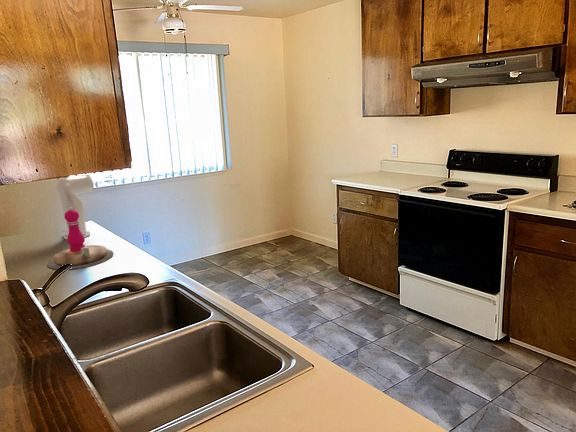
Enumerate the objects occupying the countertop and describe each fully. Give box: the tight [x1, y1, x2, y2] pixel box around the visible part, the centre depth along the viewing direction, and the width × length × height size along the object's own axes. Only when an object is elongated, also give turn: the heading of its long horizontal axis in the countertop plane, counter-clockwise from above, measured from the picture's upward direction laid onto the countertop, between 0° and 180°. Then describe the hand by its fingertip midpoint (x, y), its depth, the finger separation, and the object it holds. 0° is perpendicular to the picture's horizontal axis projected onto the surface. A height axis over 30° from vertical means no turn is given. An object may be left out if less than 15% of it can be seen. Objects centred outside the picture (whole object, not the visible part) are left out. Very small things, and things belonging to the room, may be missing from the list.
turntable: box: [52, 244, 108, 266], centre depth 205 cm, size 22×22×6 cm
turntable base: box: [47, 248, 114, 270], centre depth 206 cm, size 27×27×1 cm
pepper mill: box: [63, 207, 86, 252], centre depth 207 cm, size 7×7×20 cm
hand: (86, 171), depth 220 cm, fingers open, 9 cm apart
